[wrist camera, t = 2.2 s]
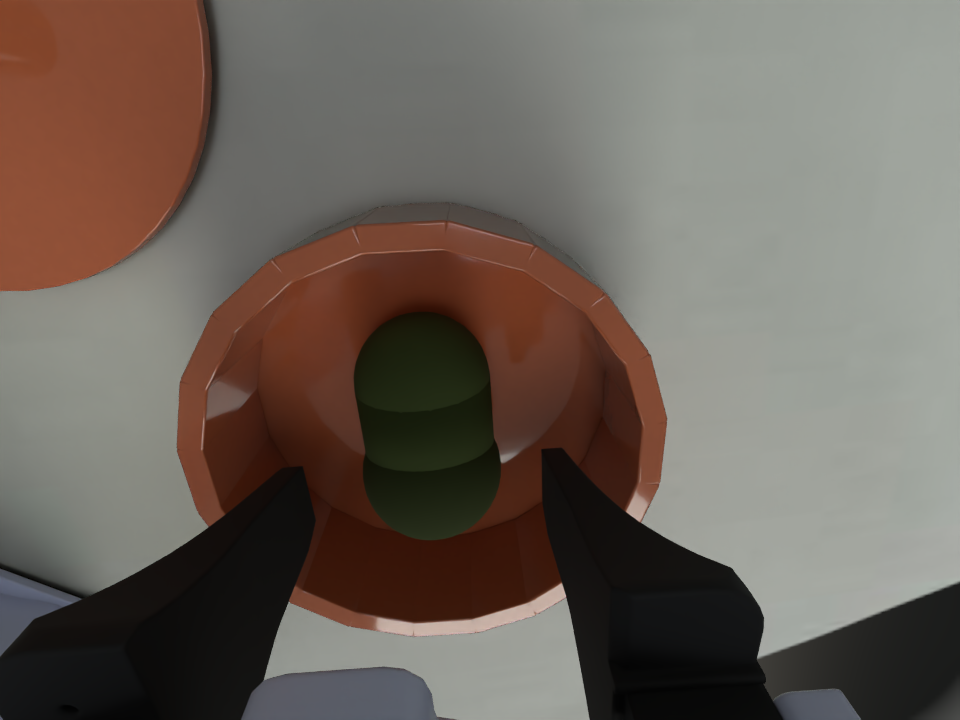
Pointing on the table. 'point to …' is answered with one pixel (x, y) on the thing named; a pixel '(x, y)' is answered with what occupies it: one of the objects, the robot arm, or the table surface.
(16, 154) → the lid
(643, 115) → the table surface
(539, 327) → the pot
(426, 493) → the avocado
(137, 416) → the table surface
